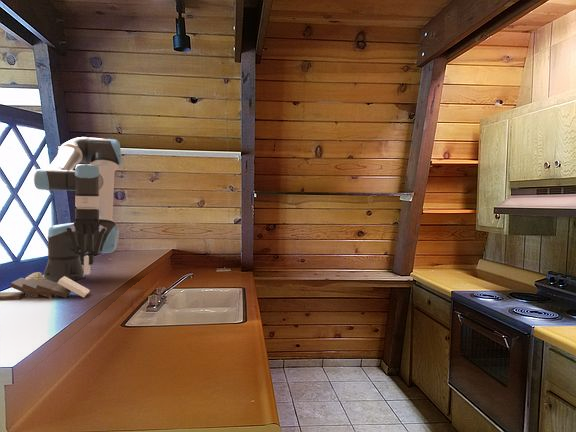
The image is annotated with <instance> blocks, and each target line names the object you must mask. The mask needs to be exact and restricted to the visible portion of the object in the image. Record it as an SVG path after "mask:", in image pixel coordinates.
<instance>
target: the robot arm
mask: <svg viewBox="0 0 576 432" xmlns="http://www.w3.org/2000/svg"><path fill="white" fill-rule="evenodd" d="M122 158H123V157H122V150H121V145H120V141H119V140H117V139H115V138H102V137H100V138H99V137H87V136H81V137H75V138H72V139H70V140H68V141H66V142H64V143H62V144H61V145H60V147H59V148H58V151H57V155H56V157H55V158H54V159H53V161H52V162H51V163H50V164H49V166H48V167H47V168H43V169H42V168H38V169H36V170H35V171H34V174H33V182H34V184H33V185H34V186H35V188H36V189H37V190H42V191H74V193H75V194H74V195H75V196H74V197H75V199H74V204H75V207H76V208H75V210H74V211H75V212H74V216H75V218H74V222H67V223H60V224H55V225H51V226H49V228H48V229H47V230H48V232H47V264H46V265H45V269H44V271H43V273H42V275H43V278H44V279H46V280H50V281H53V282H57V283H58V281H59V280H60V279H61V278H62V277H64V276H65V277H67V278H69V279H71V280H73V281H74V282H75V281H78V280H82V279H84V278H85V277H86V276H85V275H90V274H91V272H92V271H91V268H92V267H91V266H92V265H94V263H95V262H94V261H95V260H94V256H95V255H98V254H108V253H109V254H110V253H113V252H115V251H116V249H117V247H118V243H119V237H120V227H119V226H117V222H116V221H115V220H114V218H113V215H114V213H113V212H114V211H113V210H114V192H115V190H114V189H115V188H114V187H115V173H116V171H117V170H118V169H119V166H120V165H123V159H122ZM82 163H83V164H82ZM84 163H85V164H84ZM74 169H75V170H74Z"/></svg>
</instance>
